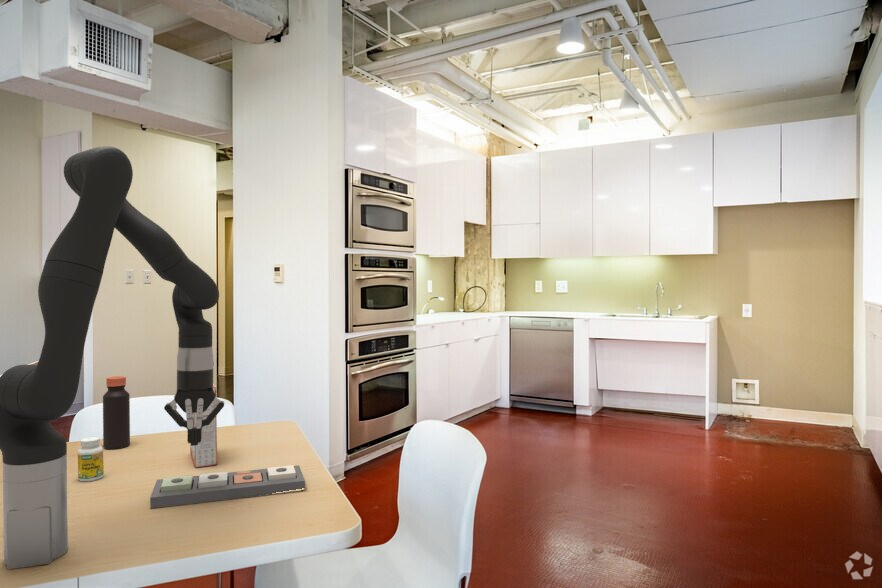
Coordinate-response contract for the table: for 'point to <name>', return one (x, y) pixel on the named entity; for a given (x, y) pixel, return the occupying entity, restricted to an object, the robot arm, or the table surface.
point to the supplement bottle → (90, 460)
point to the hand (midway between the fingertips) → (194, 444)
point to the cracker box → (206, 441)
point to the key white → (212, 480)
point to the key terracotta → (247, 478)
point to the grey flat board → (225, 489)
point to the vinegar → (116, 414)
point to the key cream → (281, 473)
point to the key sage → (177, 483)
